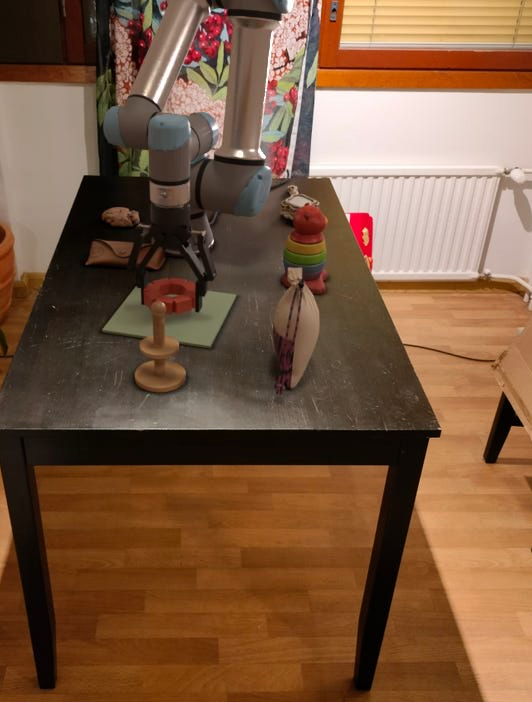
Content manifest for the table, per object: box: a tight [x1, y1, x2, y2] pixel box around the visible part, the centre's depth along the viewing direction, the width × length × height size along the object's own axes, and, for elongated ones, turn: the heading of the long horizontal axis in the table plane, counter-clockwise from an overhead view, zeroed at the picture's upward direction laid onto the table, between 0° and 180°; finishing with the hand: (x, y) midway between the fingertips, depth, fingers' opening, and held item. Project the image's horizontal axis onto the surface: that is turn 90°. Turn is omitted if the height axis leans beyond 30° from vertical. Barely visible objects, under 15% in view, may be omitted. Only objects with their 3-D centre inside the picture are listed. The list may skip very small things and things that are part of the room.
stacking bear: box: [281, 202, 329, 295], centre depth 155 cm, size 11×10×18 cm
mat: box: [101, 286, 237, 349], centre depth 146 cm, size 22×22×1 cm
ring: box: [144, 277, 195, 315], centre depth 144 cm, size 11×11×3 cm
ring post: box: [134, 301, 187, 393], centre depth 123 cm, size 9×9×15 cm
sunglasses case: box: [84, 238, 166, 271], centre depth 167 cm, size 18×7×7 cm
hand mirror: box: [278, 184, 320, 221], centre depth 197 cm, size 11×6×30 cm
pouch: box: [272, 267, 321, 396], centre depth 126 cm, size 25×8×19 cm, turn 172°
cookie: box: [101, 206, 141, 228], centre depth 188 cm, size 10×11×3 cm
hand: (171, 305), depth 145 cm, fingers closed on ring, 11 cm apart
